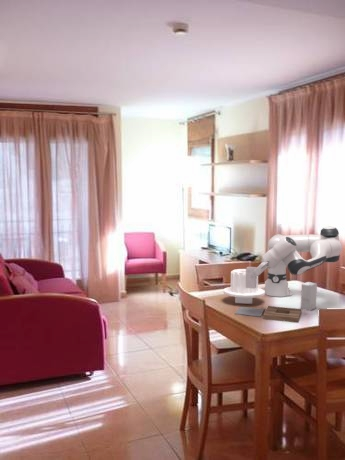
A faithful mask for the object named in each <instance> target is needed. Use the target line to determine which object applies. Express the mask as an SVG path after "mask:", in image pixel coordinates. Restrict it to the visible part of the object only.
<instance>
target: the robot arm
mask: <svg viewBox="0 0 345 460" xmlns="http://www.w3.org/2000/svg"><path fill="white" fill-rule="evenodd" d="M339 235H340V233H339V229H337V227H334V226H325V227H322V228H321V229H320V234H315V233H314V234H310V233H308V234H305V233H304V234H290V235H284V234H280V233H278V234H274V235H273V236H271V237H270V238H269V240H268V242H267V247H268V249H269V250H267V251H266V252H265V253H264V254H263V255H262V256H261V258H262V259H261V263H260V264H258V266H257V268H256V269H255V270H254V271H253V274H252V275H251V276H250V278H251V279H252V278H254V277H255V276H258V277H259V276H260V275H261V274H262V273H264V271H266V269H267V270H268V272H267V279H266V280H265V281H264V289H263V290H264V291H265V295H267V296H270V297H280V298H281V297H289V296H290V297H291V296H292V292H291V290H290V287H289V281H287V277H288V276H287V271H286V270H288V272H289V274H291V275H293V276H301V275H302V274H304V273H305V272H307V271H310V270H312V269H315V268H317V267H319V266H321V265H323V264H324V263H328V264H333V263H337V262H338V261H339V260H340V256H341V255H340V253H341V252H342V249H343V246H342V243H341V242H340V236H339ZM300 253H310V256H311V258H310V259H307V260H306V259H304V258H303V257H302V256H301V255H300Z"/></svg>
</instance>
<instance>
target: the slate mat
mask: <svg viewBox="0 0 345 460" xmlns="http://www.w3.org/2000/svg"><path fill="white" fill-rule="evenodd" d="M265 311H266V309H264V308H256V307H247V306H246V307H245V306H240V307H239V308H238V309H237V310H236V311H235V312H234V315H240V316H248V317H257V318H258V317H259V318H260V317H262V315H263V314H264V312H265Z"/></svg>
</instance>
